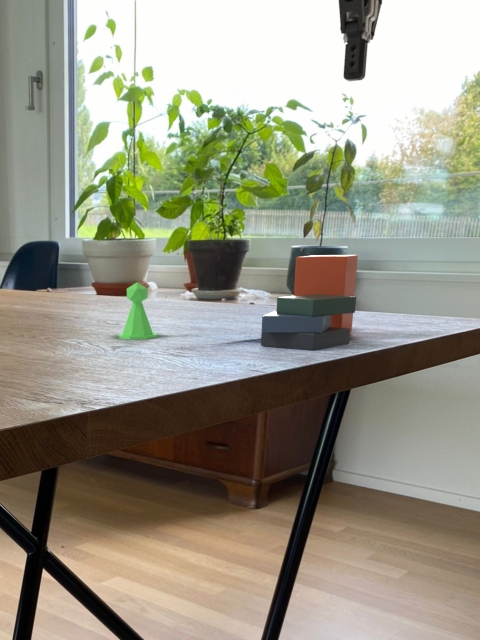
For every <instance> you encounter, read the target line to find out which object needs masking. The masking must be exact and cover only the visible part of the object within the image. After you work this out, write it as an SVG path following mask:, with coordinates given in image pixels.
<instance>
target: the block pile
mask: <svg viewBox="0 0 480 640" xmlns="http://www.w3.org/2000/svg"><path fill="white" fill-rule="evenodd" d="M356 307H357V296H356V295H355V296H340V295H324V294H314V295H300V296H294V295H289V296H277V297H276V310H273V311H272V312H271V311H270V312H269V313H267V314H265V315H262V316H261V333H260V334H261V337H260V346H261V347H268V348H269V347H270V348H282V349H292V350H303V351H318V350H323V349H328V348H333V347H334V348H335V347H340V346H345V345H349V344H350V338H351V337H350V336H351V335H350V328H339V327H330V326H331V315H336V314H348V313H353V314H355V313H356Z"/></svg>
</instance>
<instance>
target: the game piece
mask: <svg viewBox="0 0 480 640" xmlns="http://www.w3.org/2000/svg"><path fill="white" fill-rule="evenodd" d="M126 299H128V300H129V301H131V302H132V304H131V307H130V310H129V312H128V316H127V318H126V322H125V325H124V328H123V331H122V333H118V339H120V340H151V339H156V338H157V339H158V333H157V332H153V329H152V327H151V324H150V321H149V318H148V316H147V312H146V310H145V307H144V305H143V301H145V300H147V299H148V287H146V286H145V285H143V284H141V283H139V282H138V281H136V282H135V283H133V284H131V285H130V286H129V287H126Z"/></svg>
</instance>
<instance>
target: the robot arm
mask: <svg viewBox="0 0 480 640" xmlns="http://www.w3.org/2000/svg"><path fill="white" fill-rule="evenodd" d="M382 5H383V0H338V9H339V12H338V13H339V24H340V26H339V30H340V33H341V35H343V36H342V39H343V43H344V44H345V47H344V48H345V50H344V51H345V52H344V62H343V74H342V75H343V79H344V80H346V81H347V82H356V81H362V80H364V79H365V77H366V72H367V71H366V70H367V57H368V46H369V44H370V42H371V41H372V40H374V38H375V33H376V28H377V24H378V20H379V16H380V13H381V8H382Z"/></svg>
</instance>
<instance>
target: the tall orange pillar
mask: <svg viewBox="0 0 480 640" xmlns="http://www.w3.org/2000/svg"><path fill="white" fill-rule="evenodd" d="M358 258H359V255H358V254H323V255H322V254H319V255H316V254H313V255H303V256H302V255H301V256H295V272H294V288H293V289H294V290H293V296H300V295H314V294H324V295H340V296H356V295H355V294H356V284H357V283H356V281H357V271H358V269H357V268H358ZM353 319H354V313H348V314H336V315H331V326H330V327H339V328H350V336H351V335H352V331H353Z"/></svg>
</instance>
